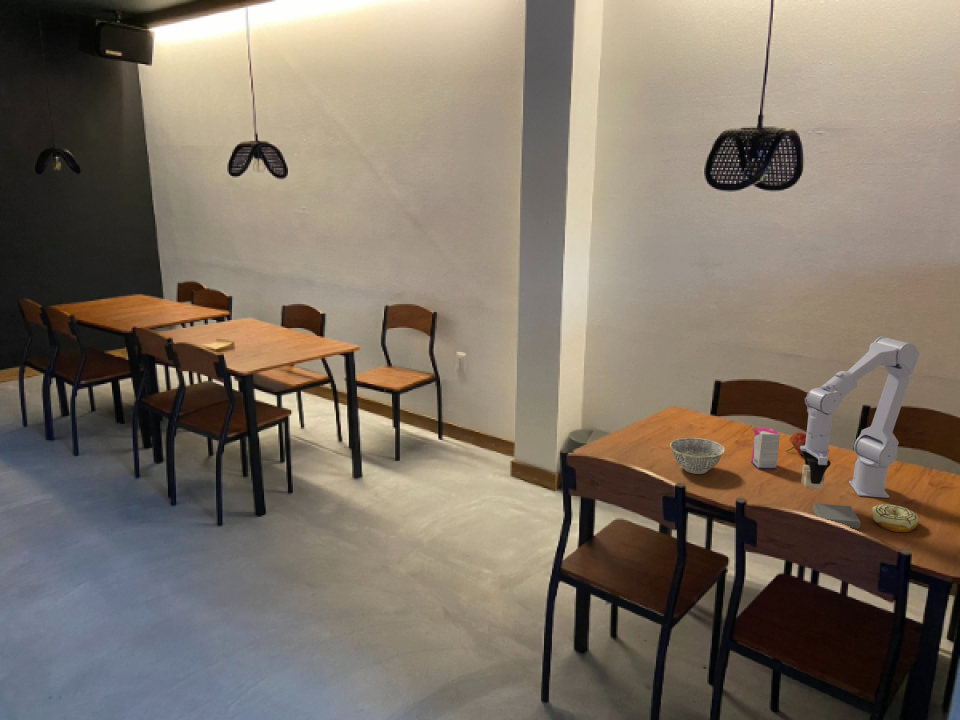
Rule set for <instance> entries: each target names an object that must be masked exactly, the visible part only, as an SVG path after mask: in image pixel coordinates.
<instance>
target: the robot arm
mask: <svg viewBox="0 0 960 720" xmlns="http://www.w3.org/2000/svg"><path fill="white" fill-rule="evenodd" d="M919 356H920V352H919V350H918V349H917V346H916V345H915V344H914V343H912V342H905V341H902V340H897V339H893V338H890V337H887V336H882V335H881V336H879V337H877V338H876V339H875V340H874V341H873V342H871V343H870V345H869V347H868V351H867V352H866V353H865V354H864V355H863V356H862V357H861V358H860V359H859V360H858V361H857V362H856V363H855V364H854V365H852V367H850V368H849V369H848V371H847V370H841V371H838V372H837V373H835V374H834V376H833V377H831V378H830V379H829V380H827V381H826V382H825V383H824V384H822V385H821V386H820V387H815V388H812V389H810V390H809V391H808V392H807V394H806V396H805V397H804V404H805V405H806V407H807V410H806V411H807V413H808V415H807V417H808V418H807V427H806V433H805V434H806V443H805V446H800V449H801V451H802V453H803V455H802V457H803V459H804V465H809V467H810V479H811V483H812V484H820V482H821V480H822V477H823V475H824V473H825V474H826V472H827V469H828V468H829V467H830V466H831V464H832V462H831V460H829V459H828V455H829V453H830V449H829V448H830V438H831V429H832V422H833V420H832V419H833V413H835V412H836V411H837V410H838V409H839V406H840V404H841V403H842V401H843V399H844V398H845V397H847V396H848V395H849V394H851V392H853V391H854V390H855V389H856V388H857V387H858V381H859V380H861V379H862V378H864V377H865V376H866V375H868V374H869V373H871V372H873V371H874V370H875V369H877V368H878V367H880V366H884V367H885V369H886V370H887V373H888V374H887V378H886V381H885V384H884V386H883V390H882V392H881V395H880V398H879V401H878V404H877V407H876V409H875V410H876V411H875V413H874V416H873V419H872V422H871V425H870V426H868V427H866V428H864V429H861V431H860V434H859V436H858V437H857V439H856V440H855V441H854V445H853V451H854V453H855V455H856V457H857V460H856V461H855V463H854V470H853V476H852V480H849V481H848V482H849V484H850V486H851V487H852V488H853V490H854V491H855V493H856V494H857V496H859V497H871V498H885V499H889V498H890V495H889V494H888V493H887V491H886V483H887V482H886V481H887V475H888V468H889V467H890V466H892V464H893V463H894V462H895V461H896V460H897V457H898V445H899V444H900V442H899V440H898V438H897V437H896V435H895V434H894V433H893V432H894V429H895V427H896V422H897V419H898V417H899V415H900V411H901V408H902V405H903V402H904V400H905V398H906V397H905V396H906V394H907V392H908V391H907V390H908V388H909V385H910V383H911V379H912V376H913V373H914V370H915V368H916V364H917V362H918V358H919ZM824 476H825V475H824Z"/></svg>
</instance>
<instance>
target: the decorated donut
mask: <svg viewBox="0 0 960 720" xmlns="http://www.w3.org/2000/svg"><path fill="white" fill-rule="evenodd" d="M871 509H872V510H871V515H872V519H873V520H874V522H875V523H876V524H878V525H879V526H880V527H881V528H883V529H886V530H888V531H890V532H891V531H892V532H894V533H909V532H912V531H913V530H914V529H916V528H917V526H918V525H919V519H920V518H919V516H918V514H917V513H915V512H914V511H912V510H911V509H910V508H907V507H904V506H900V505H894V504H887V503H881V504H877V505H874V506H873V507H872V508H871Z"/></svg>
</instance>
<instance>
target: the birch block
mask: <svg viewBox="0 0 960 720" xmlns="http://www.w3.org/2000/svg"><path fill="white" fill-rule="evenodd" d="M825 474H826V472H825V473H824V475H823V477H822V480H821V482H820V484H812V483H811V479H810V467H809V465H805V464H803V465H802V473H801V484H802V485H803V487H804V488H805V489H811V490H813V489H814V490H824V482H825V481H824V480H825Z"/></svg>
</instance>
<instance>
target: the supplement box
mask: <svg viewBox="0 0 960 720" xmlns="http://www.w3.org/2000/svg"><path fill="white" fill-rule="evenodd" d="M780 438H781V433H779V432H778V431H776V429H774V428H767V427H766V428H765V427H764V428H762V427H761V428H760V427H759V428H758V427H757V428H756V427H755V428H754V437H753V445H752V447H753V448H752V452H751V453H752V455H751V461H750V462H751V464H752V465H753V466H754V467H755V468H756V469H757V470H777V466H778V465H777V464H778V456H779V449H780V448H779V447H780V441H781V440H780Z"/></svg>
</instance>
